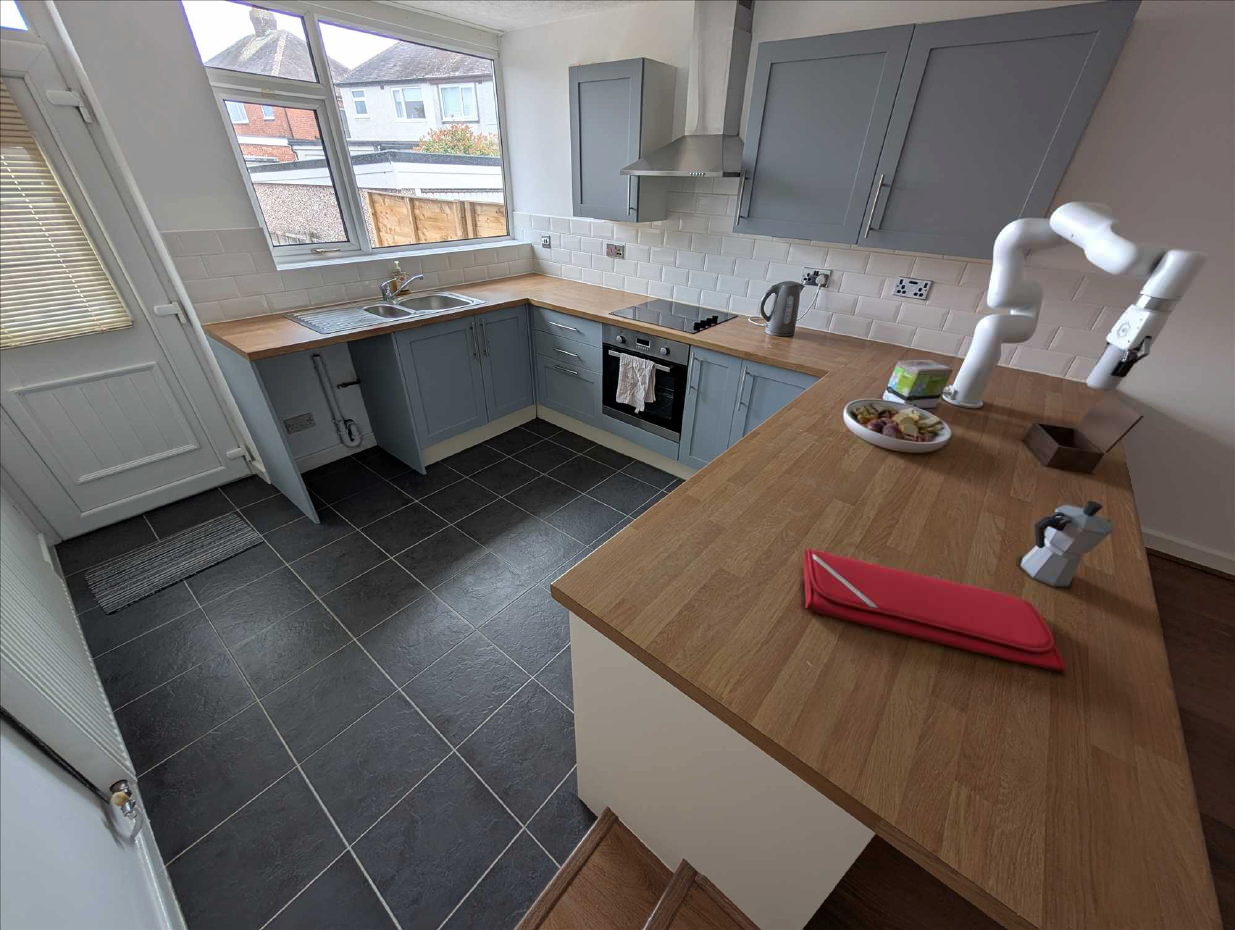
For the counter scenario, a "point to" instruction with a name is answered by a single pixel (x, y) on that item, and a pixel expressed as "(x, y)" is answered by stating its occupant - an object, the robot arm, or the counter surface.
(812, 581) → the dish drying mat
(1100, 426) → the chest lid
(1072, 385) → the counter surface
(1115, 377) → the beverage can
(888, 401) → the bowl
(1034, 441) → the chest
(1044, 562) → the coffee maker
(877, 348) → the counter surface
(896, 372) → the tea box
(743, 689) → the counter surface
